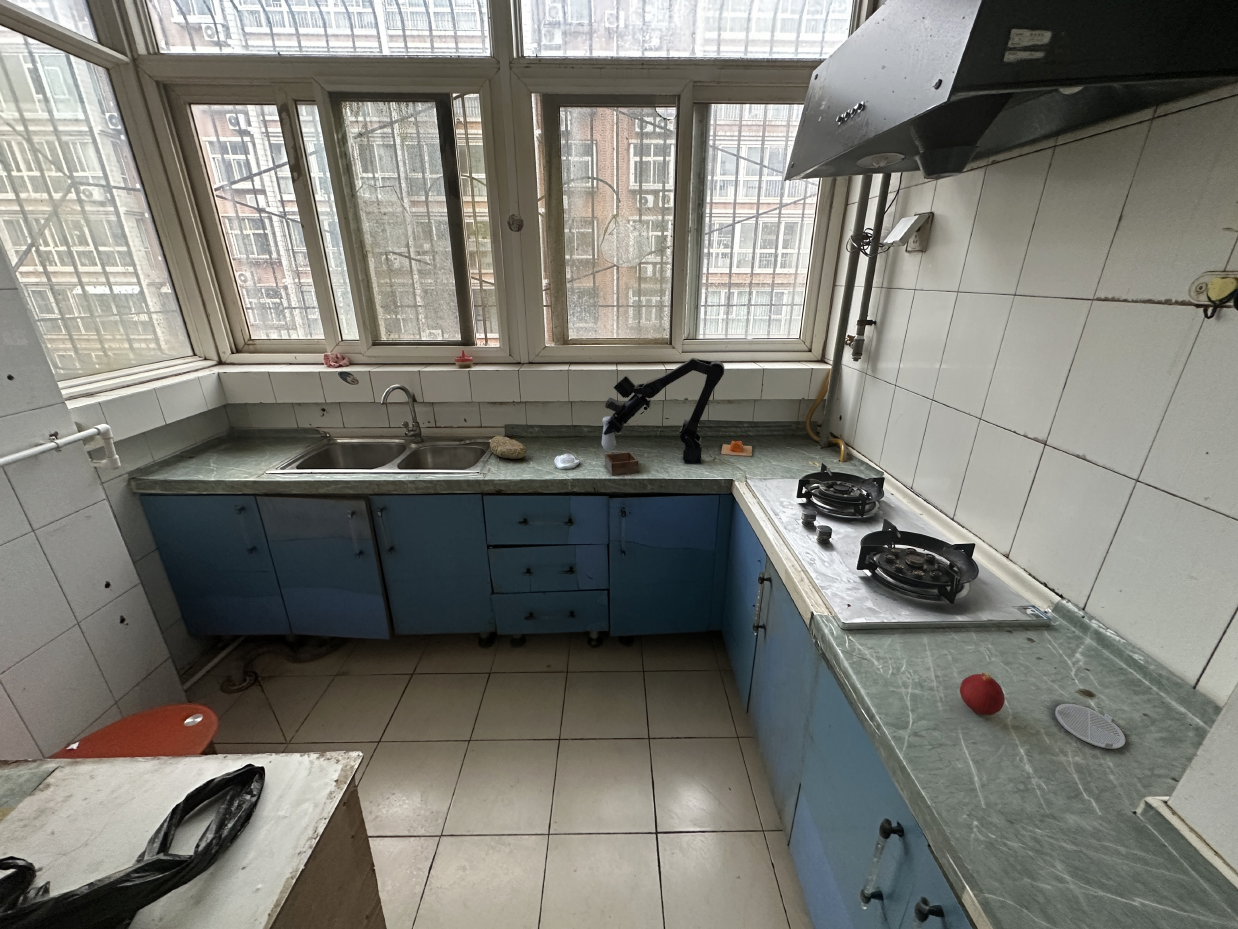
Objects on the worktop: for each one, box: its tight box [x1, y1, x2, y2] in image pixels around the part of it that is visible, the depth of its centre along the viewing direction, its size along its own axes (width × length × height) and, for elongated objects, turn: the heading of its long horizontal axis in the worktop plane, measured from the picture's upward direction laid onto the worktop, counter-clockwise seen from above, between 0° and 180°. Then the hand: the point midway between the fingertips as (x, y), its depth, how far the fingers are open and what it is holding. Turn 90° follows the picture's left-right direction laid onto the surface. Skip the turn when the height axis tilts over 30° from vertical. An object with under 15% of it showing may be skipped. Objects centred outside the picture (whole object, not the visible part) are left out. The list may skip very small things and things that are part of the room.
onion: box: [959, 672, 1006, 716], centre depth 81 cm, size 6×6×8 cm
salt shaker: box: [601, 416, 617, 451], centre depth 196 cm, size 6×6×13 cm
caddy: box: [604, 451, 640, 476], centre depth 185 cm, size 10×10×5 cm
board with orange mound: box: [720, 440, 753, 457], centre depth 203 cm, size 12×12×4 cm
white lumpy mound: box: [554, 453, 581, 470], centre depth 189 cm, size 10×4×10 cm
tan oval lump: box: [489, 435, 527, 460], centre depth 199 cm, size 13×8×20 cm
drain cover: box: [1054, 703, 1126, 750], centre depth 79 cm, size 8×8×1 cm
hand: (605, 432), depth 196 cm, fingers closed on salt shaker, 3 cm apart
